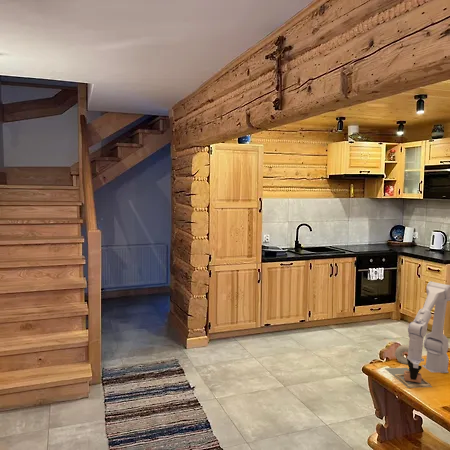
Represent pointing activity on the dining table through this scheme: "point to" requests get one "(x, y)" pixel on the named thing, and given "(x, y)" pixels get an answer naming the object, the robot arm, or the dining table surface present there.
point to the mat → (401, 371)
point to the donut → (399, 353)
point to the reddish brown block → (407, 378)
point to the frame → (414, 384)
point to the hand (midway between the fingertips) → (412, 377)
